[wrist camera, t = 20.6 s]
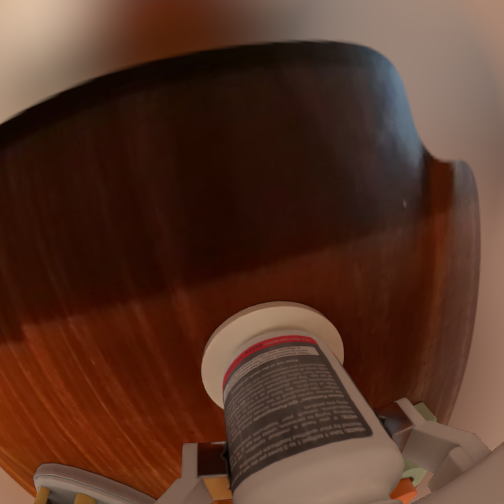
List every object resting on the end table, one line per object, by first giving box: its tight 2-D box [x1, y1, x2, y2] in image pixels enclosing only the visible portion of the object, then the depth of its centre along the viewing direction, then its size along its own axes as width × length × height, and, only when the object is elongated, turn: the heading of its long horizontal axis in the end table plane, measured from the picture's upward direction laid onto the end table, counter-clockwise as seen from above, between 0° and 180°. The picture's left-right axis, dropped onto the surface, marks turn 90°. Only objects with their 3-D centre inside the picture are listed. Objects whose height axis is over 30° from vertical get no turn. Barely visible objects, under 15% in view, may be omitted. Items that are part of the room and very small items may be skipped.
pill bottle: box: [222, 330, 404, 504], centre depth 8 cm, size 5×5×10 cm
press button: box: [389, 477, 417, 504], centre depth 13 cm, size 4×4×2 cm
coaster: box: [201, 301, 344, 409], centre depth 13 cm, size 7×7×1 cm
